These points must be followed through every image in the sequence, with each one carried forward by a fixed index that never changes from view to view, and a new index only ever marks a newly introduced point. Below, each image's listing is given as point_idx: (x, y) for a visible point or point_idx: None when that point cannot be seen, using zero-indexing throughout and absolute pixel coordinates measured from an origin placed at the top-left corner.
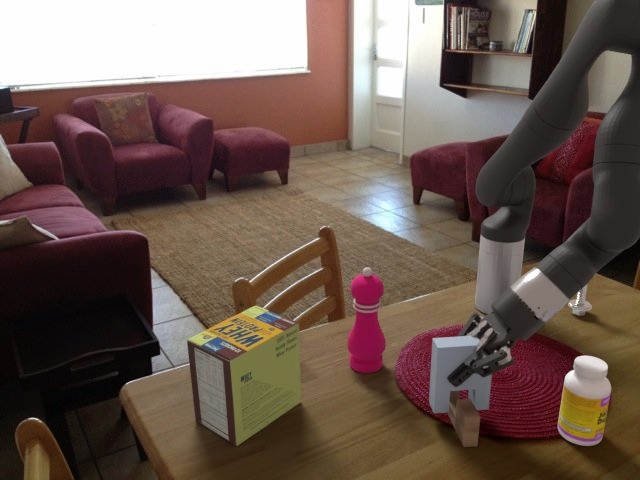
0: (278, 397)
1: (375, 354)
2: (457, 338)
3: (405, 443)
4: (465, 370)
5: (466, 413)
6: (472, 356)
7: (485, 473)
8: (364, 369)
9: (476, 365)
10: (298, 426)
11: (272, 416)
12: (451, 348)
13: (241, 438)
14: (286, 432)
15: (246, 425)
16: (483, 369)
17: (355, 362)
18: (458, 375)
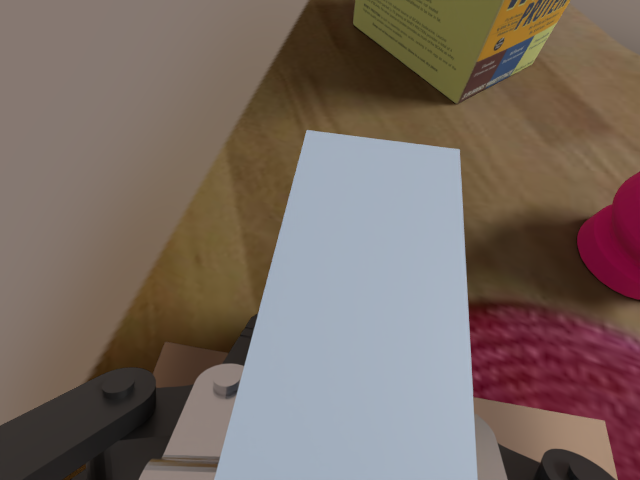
0: (425, 28)
1: (628, 231)
2: (425, 348)
3: (275, 234)
4: (223, 362)
5: (182, 354)
6: (212, 430)
7: (96, 369)
8: (584, 232)
9: (92, 394)
10: (382, 89)
11: (405, 52)
12: (282, 228)
13: (359, 20)
14: (370, 74)
15: (368, 5)
16: (88, 467)
17: (607, 207)
18: (251, 333)
